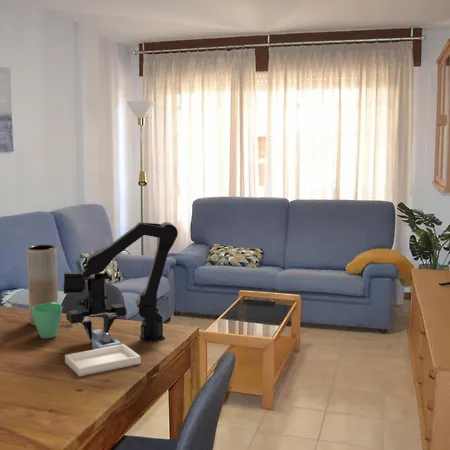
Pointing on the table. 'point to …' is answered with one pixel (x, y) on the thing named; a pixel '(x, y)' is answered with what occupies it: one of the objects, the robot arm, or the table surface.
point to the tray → (102, 359)
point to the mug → (47, 319)
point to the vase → (42, 276)
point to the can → (106, 338)
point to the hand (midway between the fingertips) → (97, 338)
